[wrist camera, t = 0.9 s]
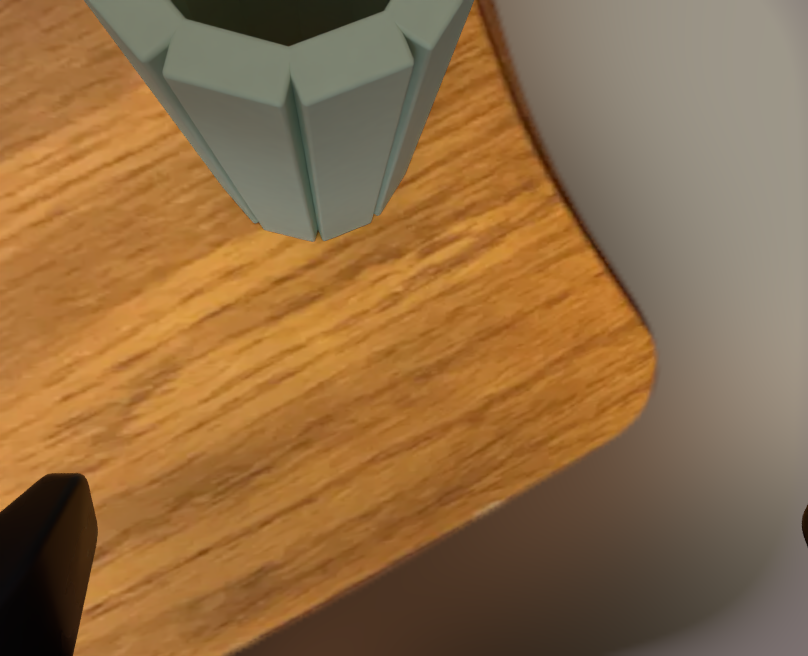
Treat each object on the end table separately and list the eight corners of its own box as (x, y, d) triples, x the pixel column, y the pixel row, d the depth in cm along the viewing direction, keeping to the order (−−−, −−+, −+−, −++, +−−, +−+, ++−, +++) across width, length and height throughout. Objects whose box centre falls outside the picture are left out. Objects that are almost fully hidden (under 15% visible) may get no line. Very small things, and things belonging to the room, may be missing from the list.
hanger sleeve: (384, 260, 23) (444, 150, 10) (191, 211, 22) (-13, 30, 9) (427, 78, 23) (543, -265, 10) (238, 27, 23) (101, -402, 10)
